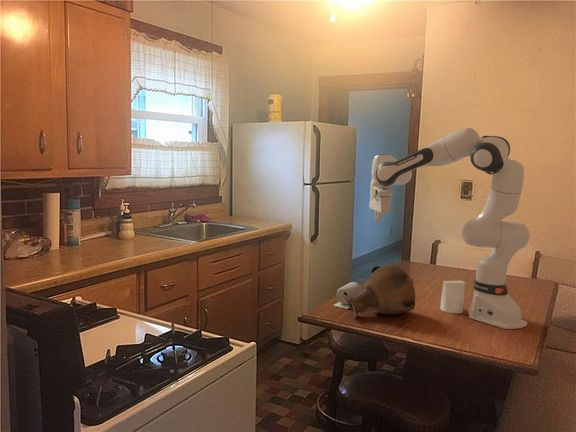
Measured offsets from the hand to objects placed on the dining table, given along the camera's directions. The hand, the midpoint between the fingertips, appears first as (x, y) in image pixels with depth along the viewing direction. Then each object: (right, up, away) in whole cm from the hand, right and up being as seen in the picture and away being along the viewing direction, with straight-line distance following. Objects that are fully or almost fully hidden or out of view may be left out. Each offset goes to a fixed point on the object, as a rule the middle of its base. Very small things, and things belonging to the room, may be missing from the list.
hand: (377, 221), depth 225 cm
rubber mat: (-16, -34, -16) cm, 41 cm away
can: (-12, -29, -9) cm, 33 cm away
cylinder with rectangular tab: (+28, -37, -16) cm, 49 cm away
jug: (-4, -37, -26) cm, 45 cm away
